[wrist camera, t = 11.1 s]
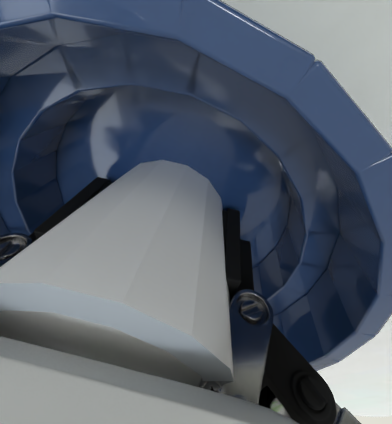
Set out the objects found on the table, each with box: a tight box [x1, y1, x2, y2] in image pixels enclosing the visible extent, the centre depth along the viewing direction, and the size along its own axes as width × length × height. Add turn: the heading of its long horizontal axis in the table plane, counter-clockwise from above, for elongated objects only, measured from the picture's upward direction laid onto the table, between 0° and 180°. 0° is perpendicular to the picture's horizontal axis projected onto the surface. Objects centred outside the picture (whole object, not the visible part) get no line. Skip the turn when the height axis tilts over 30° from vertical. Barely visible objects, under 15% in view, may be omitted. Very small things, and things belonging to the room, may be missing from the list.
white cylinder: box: [0, 160, 234, 386], centre depth 8 cm, size 7×7×7 cm
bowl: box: [0, 0, 392, 371], centre depth 9 cm, size 15×15×6 cm
